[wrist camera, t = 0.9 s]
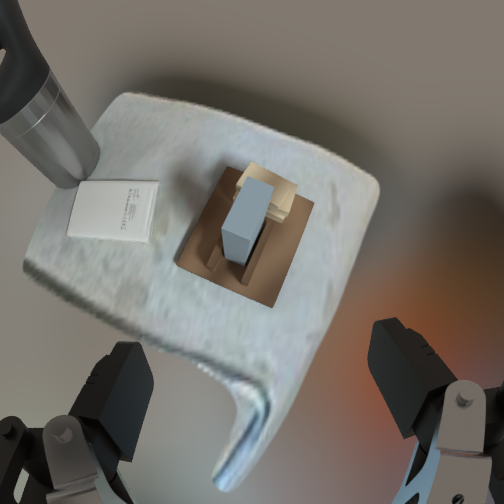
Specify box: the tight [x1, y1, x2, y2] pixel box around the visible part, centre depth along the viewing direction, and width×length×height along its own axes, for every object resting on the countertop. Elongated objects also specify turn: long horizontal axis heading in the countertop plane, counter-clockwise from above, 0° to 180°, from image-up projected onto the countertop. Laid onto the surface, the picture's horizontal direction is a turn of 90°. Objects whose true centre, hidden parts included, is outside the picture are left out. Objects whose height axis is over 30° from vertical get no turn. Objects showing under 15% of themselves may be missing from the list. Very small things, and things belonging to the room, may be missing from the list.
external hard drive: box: [67, 181, 161, 244], centre depth 33 cm, size 2×8×12 cm
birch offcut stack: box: [233, 162, 298, 223], centre depth 32 cm, size 7×4×4 cm, turn 67°
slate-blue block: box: [221, 176, 274, 266], centre depth 27 cm, size 2×5×11 cm, turn 157°
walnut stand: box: [177, 166, 314, 308], centre depth 32 cm, size 12×14×4 cm
